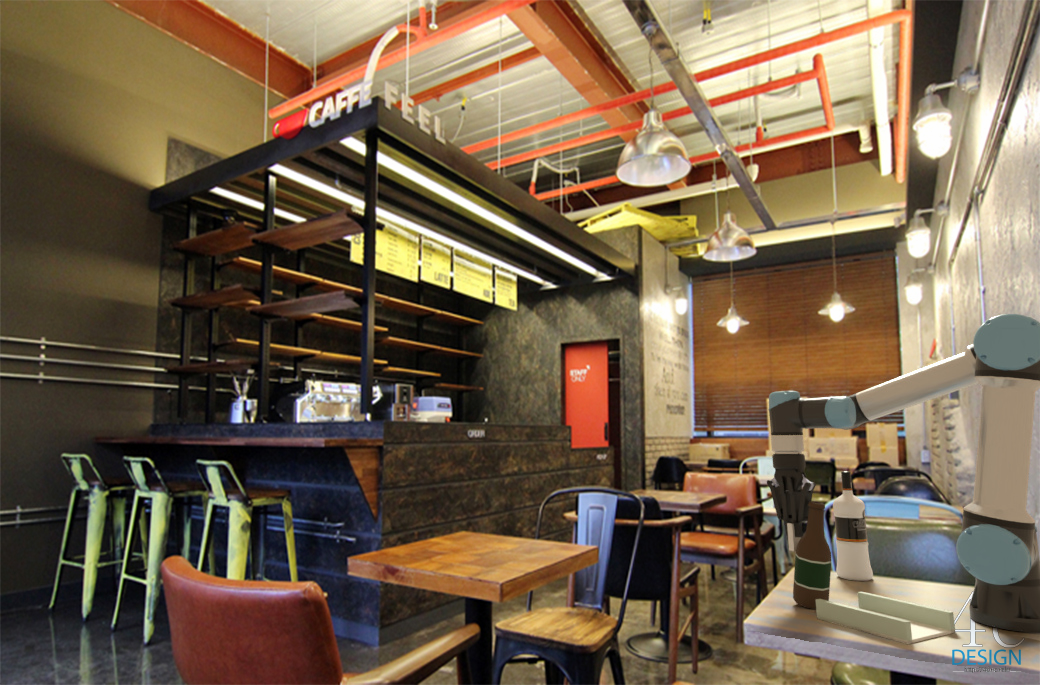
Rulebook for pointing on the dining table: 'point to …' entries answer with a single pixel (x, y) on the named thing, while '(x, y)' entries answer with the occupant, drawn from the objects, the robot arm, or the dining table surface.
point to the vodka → (851, 534)
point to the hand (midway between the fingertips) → (795, 550)
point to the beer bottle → (812, 561)
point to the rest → (889, 618)
